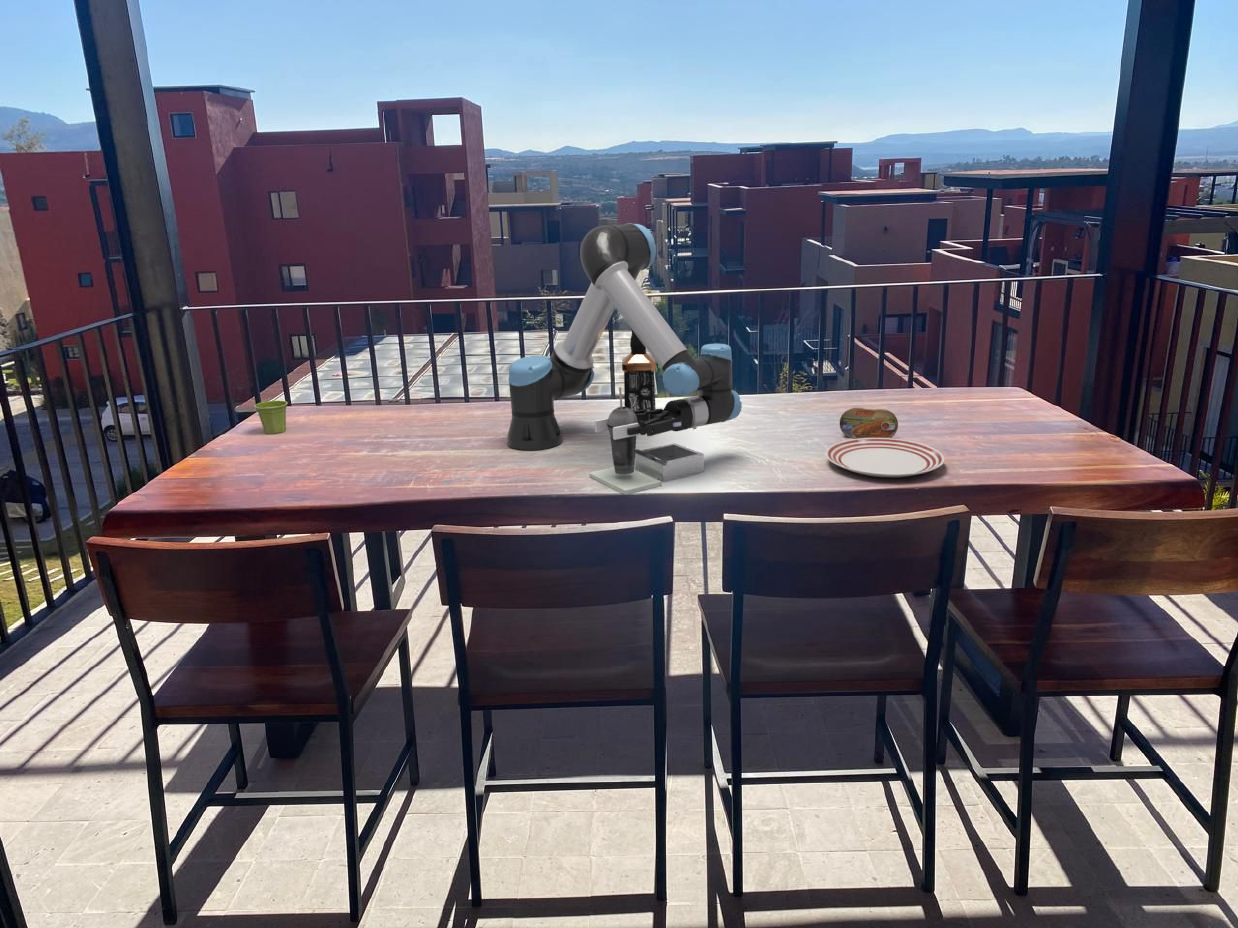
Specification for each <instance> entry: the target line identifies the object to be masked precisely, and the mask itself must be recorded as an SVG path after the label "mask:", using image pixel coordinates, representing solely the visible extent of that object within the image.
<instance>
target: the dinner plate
mask: <svg viewBox="0 0 1238 928" xmlns="http://www.w3.org/2000/svg"><path fill="white" fill-rule="evenodd" d="M825 457H826V458H827V459H828V460H829V461H830V463H832V464H834V465H836V466H838V467H840V468H843V469H844V470H848V471H850V472H853V473H857V474H859V475H864V476H869V477H874V478H884V479H885V478H892V479H893V478H894V479H895V478H896V479H897V478H906V477H912V476H918V475H922V474H926V473H929V472H931V471H934V470H936V469H938V468H940V467H941V466H944V465H943V464H944V463H945V460H946V459H945V456H944V454H943V453H942V452H941V451H939V450H938V449H936V448H934V447H932V446H930V445H927V444H925V443H921V442H917V441H913V440H908V439H901V438H893V437H892V438H859V439H852V438H850V439H847V440H842V441H838V442H836V443H834V444H831V445H830V446H829V447H827V449H826V450H825Z"/></svg>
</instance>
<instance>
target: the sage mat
mask: <svg viewBox="0 0 1238 928" xmlns="http://www.w3.org/2000/svg"><path fill="white" fill-rule="evenodd" d="M588 475H589V476H590V477H589V476H588V477H589V478H591V477H592V478H591V479H593V478H594V479H593V480H595V479H596V480H595V481H597V480H598V481H597V482H599V481H600V482H599V483H601V482H602V483H601V484H603V483H604V484H603V485H605V484H606V485H605V486H607V485H608V486H607V487H609V488H611V489H613V490H615V491H617V492H619V493H621V494H623V495H625V496H626V495H627V496H628V495H630V494H633V493H634V494H635V493H638V492H642V491H645V490H650V489H654V488H658V487H661V486H662V481H661V480H658V479H656V478H654V477H652V476H649V475H647V474H645V473H643V472H640V471H638V470H636V469H634V472H633V473H631V474H617V473H615V468H614V466H613V467H609V468H605V469H601V470H597V471H591V472H589V473H588Z"/></svg>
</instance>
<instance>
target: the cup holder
mask: <svg viewBox="0 0 1238 928" xmlns="http://www.w3.org/2000/svg"><path fill="white" fill-rule="evenodd" d="M636 469H637V470H636ZM634 470H636V471H638V470H639V472H641V473H643V472H644V473H643V474H645V473H646V474H645V475H647V474H648V476H649V475H650V477H652V478H654V479H657V480H658V479H659V481H661V482H667V481H668V480H669V481H671V480H672V479H673V480H676V479H681V478H683V477H688V476H692V475H697V474H700V472H701V473H704V472H705V454H704V453H702V452H699V451H697V450H694V449H691V448H688V447H686V446H683V445H680V444H677V442H676V443H675V442H673V443H669V444H664V445H660V446H655V447H652V448H651V447H650V448H646V449H642V450H640V449H638V448H636V449H635V465H634ZM696 473H697V474H696ZM673 480H672V481H673Z"/></svg>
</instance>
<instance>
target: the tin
mask: <svg viewBox="0 0 1238 928" xmlns="http://www.w3.org/2000/svg"><path fill="white" fill-rule="evenodd" d="M898 427H899V422H898V418H897V416H896V415H895V413H893V412H892V411H890V410H888V409H884V408H880V409H879V408H868V407H867V408H865V407H852V408H849V409H847V410H846V411H845V412H842V414H841V416H840V419H839V428H840V431H841V433H843V435H844V436H845V437H847V438H850V439H859V438H893V437H894V436H895V434H896V433H897V431H898Z"/></svg>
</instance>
